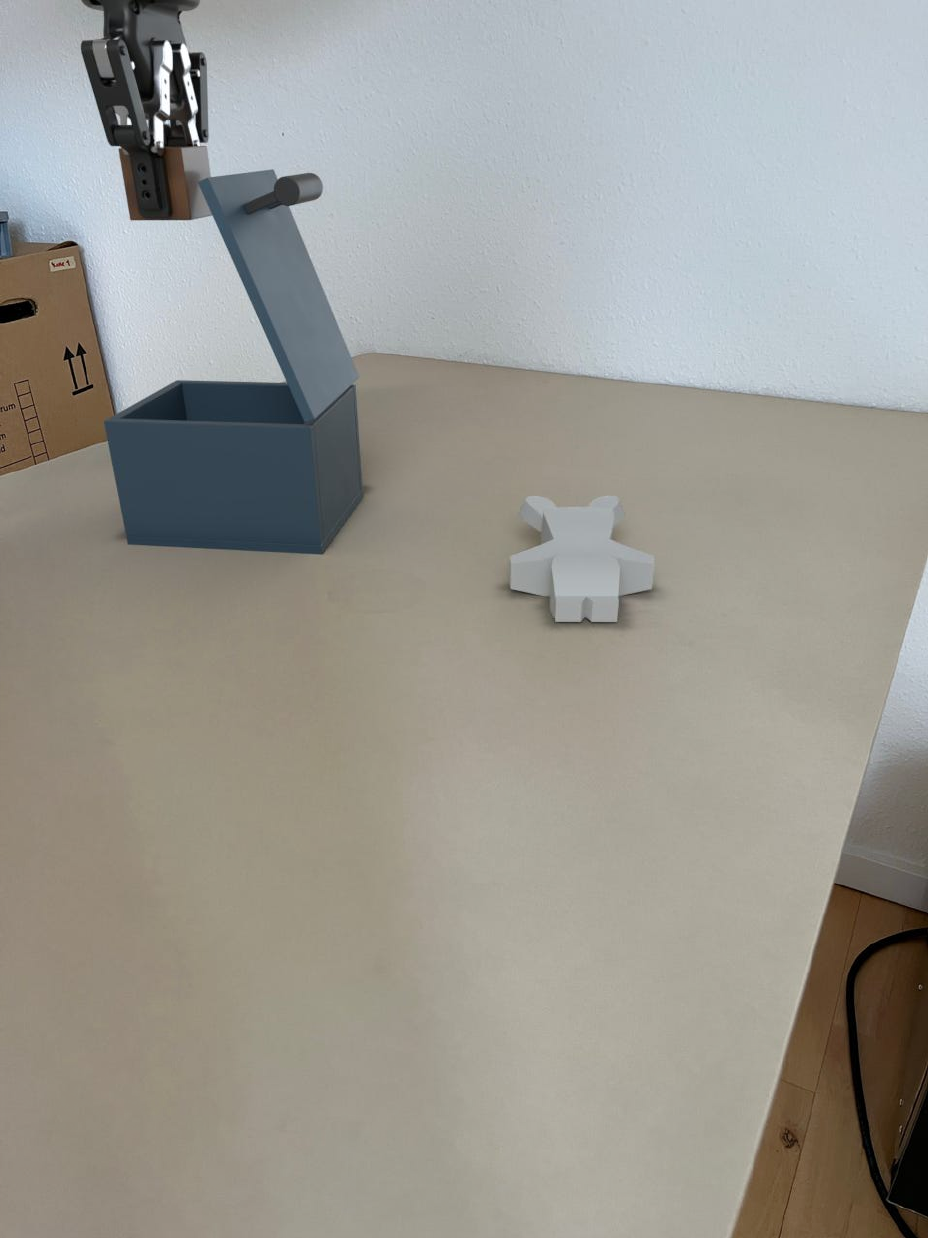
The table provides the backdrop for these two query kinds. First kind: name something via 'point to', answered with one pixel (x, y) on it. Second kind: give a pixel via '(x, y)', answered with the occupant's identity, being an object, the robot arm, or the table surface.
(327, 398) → the bin lid
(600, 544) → the white teddy bear figure
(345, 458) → the bin
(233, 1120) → the table surface
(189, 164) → the block
